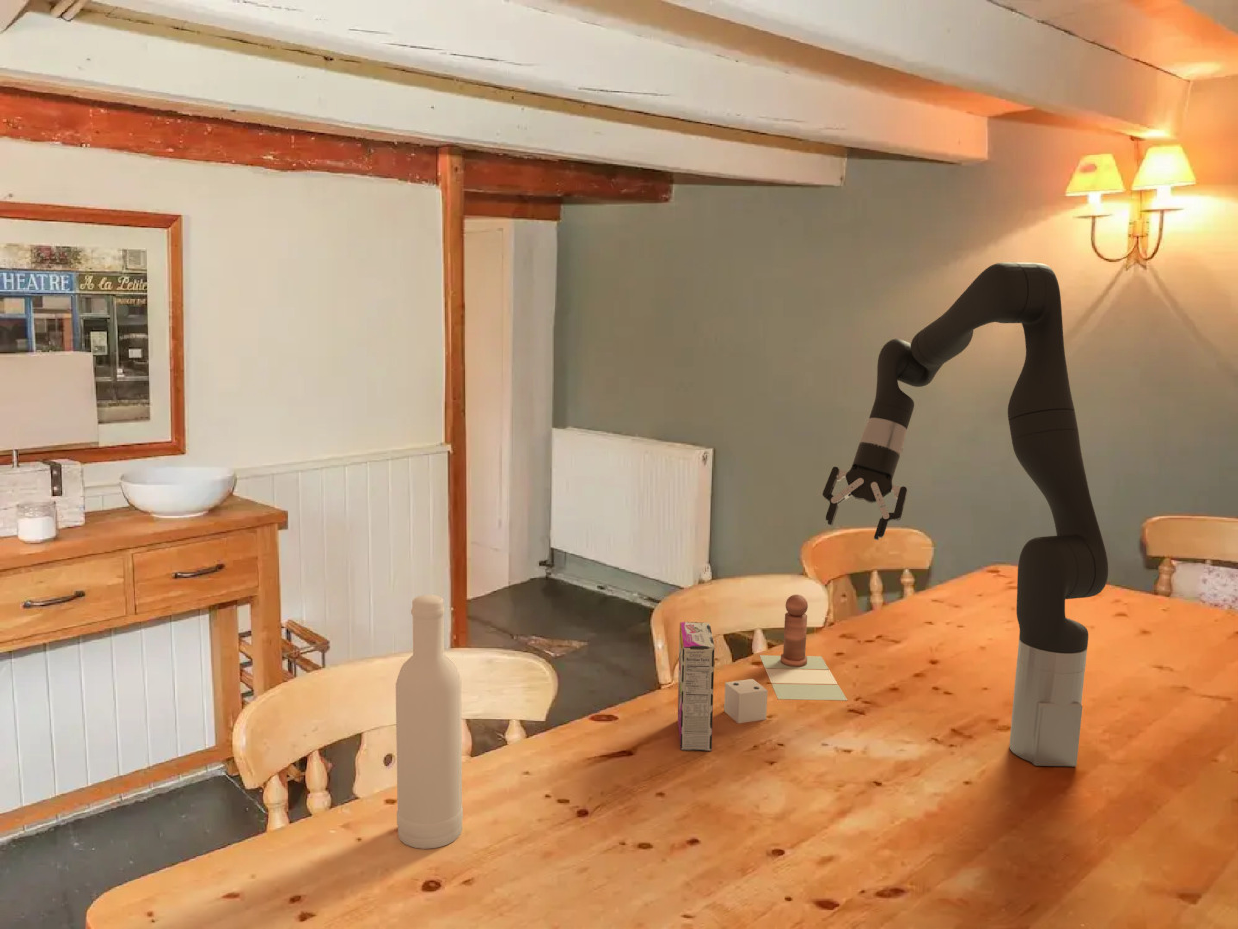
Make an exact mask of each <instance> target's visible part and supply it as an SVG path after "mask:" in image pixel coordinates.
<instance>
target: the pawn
mask: <svg viewBox="0 0 1238 929" xmlns="http://www.w3.org/2000/svg"><path fill="white" fill-rule="evenodd" d="M808 607H809V605H808V601H807V600H806V598H805V597H804V596H803V595H801V594H792V595H790V596H789V597H788V598H787V599H786V601H785V610H786V612H785V614H784V629H783V630H784V631H783V646H782V647H783V648H782V649H783V650H782V654H781V655H780V656H781V663H782V664H784V665H787V666H791V667H802V666H805V665H806V664H807V657H806V656H807V655H806V648H807V647H806V646H807V645H806V644H807V642H806V641H807V631H808V630H807V629H808V628H807V627H808V614H806V613H807V611H808Z"/></svg>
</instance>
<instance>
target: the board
mask: <svg viewBox="0 0 1238 929" xmlns="http://www.w3.org/2000/svg"><path fill="white" fill-rule="evenodd" d="M805 656H806V657H807V664H806V665H805V666H802V667H791V666H787V665H784V664H782V663H781V655H766V654H765V655H761V654H760V655H759V657H760V660H761V663H762V666H763V667H764V669H765V671H766V675H767V678H769V681H770V684H771V686H772V688H773V691H774V693H775V695H776V697H777V700H798V701H799V700H801V701H802V700H803V701H805V700H807V701H848V699H847V696H845V693H844V692H843V690H842V689H841V687H840V686H839V684H838V682H837V681H836V678H835V676H834V675H833V674H832V672H831V670H830V668H829V667H828V665H827V664H826V662H825V660H824V658H823V657H822V655H821V656H816V655H815V656H814V655H805Z"/></svg>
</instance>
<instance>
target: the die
mask: <svg viewBox="0 0 1238 929" xmlns="http://www.w3.org/2000/svg"><path fill="white" fill-rule="evenodd" d="M768 692H769V691H768V689H766V688H765V687H764V686H763V685H762V684H760V683H759V682H757V681H756V680H755V679H753V678H749V679H741V680H733V681H726V682H725V683H724V703H723V705H724V706H723V712H725V713H726V714H727V715H728V716H729V717H730V718H731V719H732V720H733V721H735V722H736V723H737V724H743V723H749V722H750V723H751V722H758V721H765V720H767V711H768V710H767V709H768V708H767V706H768Z"/></svg>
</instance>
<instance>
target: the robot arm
mask: <svg viewBox="0 0 1238 929" xmlns="http://www.w3.org/2000/svg"><path fill="white" fill-rule="evenodd" d="M1057 278H1058V277H1057V275H1056V273H1055V272H1054V270H1053V269H1052V268H1051V267H1050V266H1049V265H1048V264H1046V263H1042V262H1041V263H1039V262H1022V261H1021V262H1016V261H1015V262H1014V261H1012V262H1010V261H1009V262H1007V261H1006V262H1004V261H1003V262H1002V261H1001V262H996V263H994V264H992V265H989V266H988V267H987V268H985V269H984V270H983V271H982V272H980V273H979V275H977V277H976V278H975V279H974V280H973V281H972V282H971V283H970V284H969V286H968V287H966V289H965V290H964V291H963V292H962V294H961V295H960V296H959V297H958V298H957V299H956V300H955V302H954V303H953V304H952V305H951V306H950V307H949V308H948V309H947V310H946V311H945V312H944V313H943V314H941V316H940V317H938V318H936V319H935V320H934V321H933V322H931V323H930V324H928V325H927V326H925V327H924V328H922V329H921V330H920V331H918V332H917V333H916V334H915V335H914V336H913V338H912V340H911V342H909V341H906V340H903V339H900V338H894V339H891V340H889V341H887V342H886V343H884V345H883V346H882V348H881V349H880V352H879V355H878V358H877V366H876V367H877V368H876V370H877V372H876V388H875V389H876V390H875V391H876V392H875V397H874V402H873V405H872V408H871V412H870V414H869V417H868V420H867V423H866V424H865V426H864V429H863V431H862V434H861V437H860V441H859V442H858V443H859V444H858V447H857V449H856V452H855V455H854V459H853V462H852V465H851V467H850V469H849V470H848V471H845V470H843V469H840V468H839V467H838V466H833V467H832V469H831V471H830V473H829V476H828V479H827V481H826V484H825V486H824V488H823V491H822V496H823V498H824V499H825V500H827V501H828V502H829V506H828V509H827V512H826V515H825V521H827V525H828V526H831V527H832V526H833V525H834V522H835V519H836V516H837V514H838V510H839V505H840V504H841V503H842V502H844V501H846V500H848V499H849V498H850V497H852V496H853V498H855V499H856V500H859V501H861V500H862V501H865V502H867V503H870V504H874V503H877V506H878V508H879V511H880V514H881V518H879V521H878V524H877V527H876V530H875V531H874V532H875V533H874V536H873V540H876V541H879V539H880V538H881V539H882V538H884V536H885V533H886V530H887V527H888V524H889V522H891V521H897V522H898V521H900V520H901V518H902V516H903V515H902V514H903V511H904V507H905V503H906V499H907V495H908V489H907V487H906V486H904V485H903V486H898V485H893V479H894V476H895V473H896V470H897V467H898V463H899V460H900V457H901V455H902V453H903V449H904V448H903V447H904V444H905V440H906V436H907V435H906V434H907V432H908V431H907V430H908V427H909V424H910V422H911V419H912V415H913V411H914V409H915V401H914V400H913V398H912V397H910V396H909V395H908V394H907V393H906V392H904V391H903V390H901V388H900V385H899V383H898V382H900V383H904V384H906V385H909V386H911V387H915V388H920V387H921V388H923V387H925V386H928V385H929V384H930V383H932V381H933V380H934V377H935V376H936V375H937V373H938V371H939V370H940V369H941V368H942V366H943V365H944V364H945V363H947V362H948V361H950V360H951V359H953V358H955V357H957V356H958V355H960V354H961V353H962V352H963V351H964V350H966V349H967V347H969V345H970V343H971V341H972V339H973V334H974V330H976V329H977V328H979V327H983V326H985V325H989V324H991V323H997V324H998V323H999V324H1021V325H1022V328H1023V333H1024V335H1023V336H1024V342H1025V357H1024V363H1023V366H1022V368H1021V371H1020V374H1019V376H1018V378H1017V381H1016V383H1015V385H1014V387H1013V390H1012V392H1011V395H1010V397H1009V402H1008V405H1007V418H1008V427H1009V431H1010V438H1011V444H1012V448H1013V451H1014V455H1015V457H1016V459H1017V460H1018V462H1019V464H1020V465H1021V467H1022V468H1023V470H1024V471H1025V472H1026V473H1027V475H1028V476H1029V478H1030V479H1031V480H1032V482H1033V483H1034V484H1035V485H1036V486H1037V488H1038V489H1039V491H1040V492H1041V494H1042V495H1043V497H1044V499H1046V501H1047V503H1048V505H1049V508H1050V511H1051V515H1052V519H1053V521H1054V523H1053V524H1054V527H1055V532H1056V535H1048V536H1038V537H1034V538H1031V539H1030V540H1028V541H1026V543H1025V544H1024V546H1023V547H1022V549H1021V551H1020V555H1019V559H1018V566H1017V581H1016V611H1015V612H1016V617H1017V618H1016V620H1017V624H1018V627H1019V628H1018V629H1019V635H1018V646H1017V658H1016V667H1015V680H1014V688H1013V689H1014V690H1013V701H1012V708H1011V709H1012V711H1011V712H1012V713H1011V724H1010V725H1011V726H1010V735H1009V736H1010V737H1009V749H1010V751H1011V752H1012V753H1013V754H1014V755H1015V756H1017V757H1019V758H1021V759H1022V760H1024V761H1027V762H1030V763H1032V765H1034V766H1036V767H1037V766H1038V767H1040V766H1041V767H1043V766H1044V767H1077V763H1078V754H1079V743H1080V737H1081V736H1080V735H1081V725H1082V714H1083V705H1082V701H1083V691H1084V681H1085V672H1086V665H1087V652H1088V647H1089V646H1088V645H1089V631H1088V629H1087V627H1086V626H1085V625H1084V624H1081V623H1080V622H1079V621H1075V620H1073V619H1070V618H1069V617H1067V616H1066V600H1074V599H1075V600H1076V599H1084V598H1091V597H1095V596H1098V594H1100V593H1102V592H1103V590H1104V588H1105V587H1106V584H1107V582H1108V577H1109V562H1108V556H1107V551H1106V547H1105V543H1104V539H1103V535H1102V532H1101V529H1100V525H1099V522H1098V519H1097V515H1096V512H1095V508H1094V506H1093V502H1092V497H1091V494H1090V489H1089V485H1088V483H1089V482H1088V478H1087V475H1086V469H1085V466H1084V459H1083V453H1082V449H1081V448H1082V447H1081V441H1080V434H1079V428H1078V427H1079V426H1078V422H1077V415H1076V412H1075V405H1074V402H1073V397H1072V392H1071V387H1070V386H1071V385H1070V381H1069V380H1070V379H1069V373H1068V372H1069V371H1068V366H1067V360H1066V352H1065V351H1066V350H1065V342H1064V328H1063V326H1064V325H1063V313H1062V312H1063V310H1062V300H1061V299H1062V297H1061V290H1060V285H1059V284H1060V283H1059V281H1058V279H1057ZM843 478H845V480H846V482H847V486H846V487H844V488H843V489H842V490H841V491H840V492H838V493H837V494H835V495H833V491H834V489H835V487H836V484H837V482H840V481H842V479H843ZM891 492H893V493H894V494H893V496H894V498H895V499H896V504H895V506H894V507H895V508H894V512H889V510H888V508H887V505H886V502H885V500H884V498H885V496H887V495H888V494H890V493H891Z"/></svg>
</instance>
